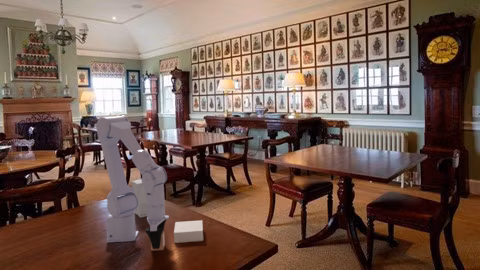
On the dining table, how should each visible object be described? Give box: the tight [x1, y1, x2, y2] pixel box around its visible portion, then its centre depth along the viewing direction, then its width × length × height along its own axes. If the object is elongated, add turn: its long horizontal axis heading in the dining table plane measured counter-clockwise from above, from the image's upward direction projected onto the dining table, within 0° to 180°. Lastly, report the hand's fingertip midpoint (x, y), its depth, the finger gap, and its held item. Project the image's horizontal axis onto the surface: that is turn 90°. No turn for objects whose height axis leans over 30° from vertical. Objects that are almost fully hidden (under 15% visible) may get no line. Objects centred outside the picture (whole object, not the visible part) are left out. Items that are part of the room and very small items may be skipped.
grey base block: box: [173, 219, 204, 244], centre depth 123 cm, size 10×10×4 cm
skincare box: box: [131, 178, 148, 218], centre depth 146 cm, size 8×6×15 cm
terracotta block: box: [150, 230, 166, 251], centre depth 114 cm, size 4×4×5 cm
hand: (157, 243), depth 114 cm, fingers open, 7 cm apart
